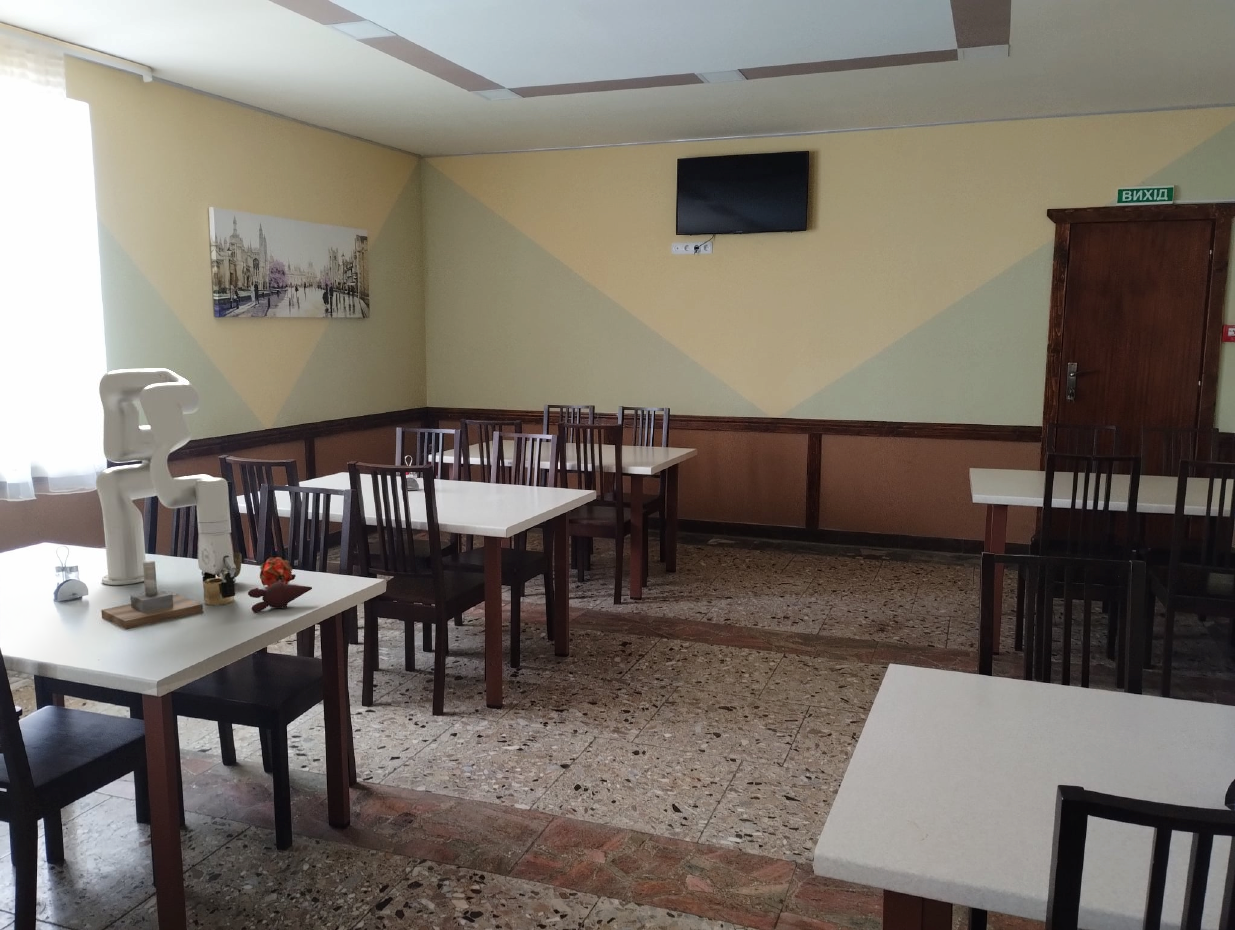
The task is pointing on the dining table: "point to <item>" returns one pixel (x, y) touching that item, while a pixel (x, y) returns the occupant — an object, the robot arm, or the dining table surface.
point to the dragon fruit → (276, 571)
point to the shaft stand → (151, 605)
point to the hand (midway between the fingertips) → (219, 593)
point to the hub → (214, 592)
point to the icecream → (277, 595)
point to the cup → (237, 563)
